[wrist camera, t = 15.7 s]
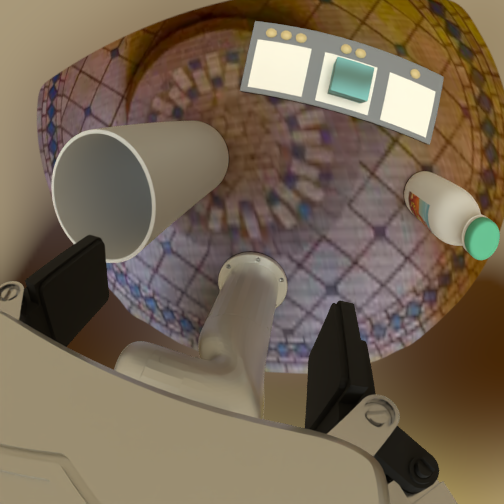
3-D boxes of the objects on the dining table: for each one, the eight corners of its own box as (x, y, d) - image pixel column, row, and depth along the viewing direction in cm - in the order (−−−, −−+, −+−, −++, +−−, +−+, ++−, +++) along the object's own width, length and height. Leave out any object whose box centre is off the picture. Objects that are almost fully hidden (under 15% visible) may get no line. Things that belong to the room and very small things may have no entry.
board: (426, 143, 37) (430, 144, 36) (241, 91, 39) (239, 90, 38) (440, 77, 32) (444, 76, 30) (256, 23, 34) (254, 20, 32)
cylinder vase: (208, 207, 48) (131, 285, 26) (148, 172, 47) (44, 222, 25) (244, 143, 43) (179, 169, 20) (178, 108, 42) (70, 109, 19)
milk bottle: (404, 168, 40) (465, 204, 22) (444, 172, 38) (515, 209, 21) (400, 214, 43) (451, 274, 25) (439, 216, 42) (500, 273, 24)
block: (360, 103, 36) (367, 101, 31) (327, 93, 36) (330, 90, 32) (366, 73, 34) (374, 67, 29) (333, 63, 34) (337, 56, 29)
